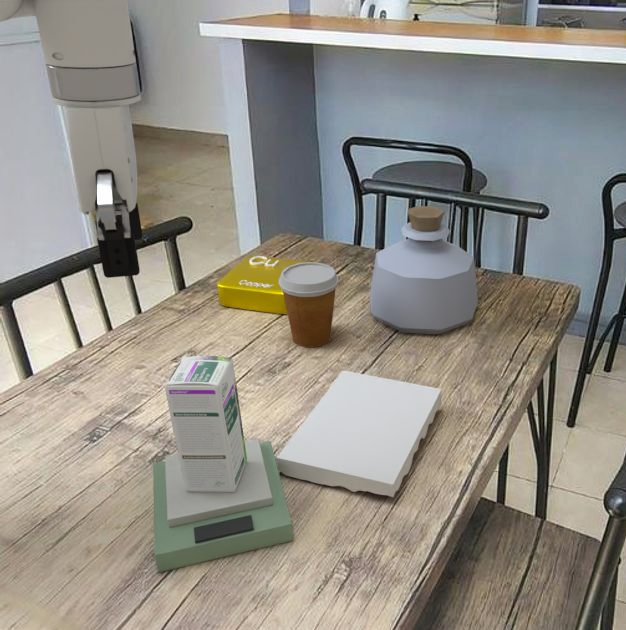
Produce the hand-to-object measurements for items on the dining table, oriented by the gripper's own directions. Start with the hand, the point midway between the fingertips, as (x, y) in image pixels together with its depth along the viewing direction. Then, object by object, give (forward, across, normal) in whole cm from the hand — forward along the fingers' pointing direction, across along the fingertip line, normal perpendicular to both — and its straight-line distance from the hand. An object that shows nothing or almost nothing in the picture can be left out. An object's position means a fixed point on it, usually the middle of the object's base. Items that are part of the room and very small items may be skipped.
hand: (125, 256), depth 70 cm
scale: (+29, +8, +6) cm, 31 cm away
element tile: (+29, -47, +19) cm, 58 cm away
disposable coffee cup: (+29, -28, +24) cm, 47 cm away
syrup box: (+25, +7, +6) cm, 27 cm away
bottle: (+28, -33, +44) cm, 62 cm away
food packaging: (+29, +1, +26) cm, 38 cm away
